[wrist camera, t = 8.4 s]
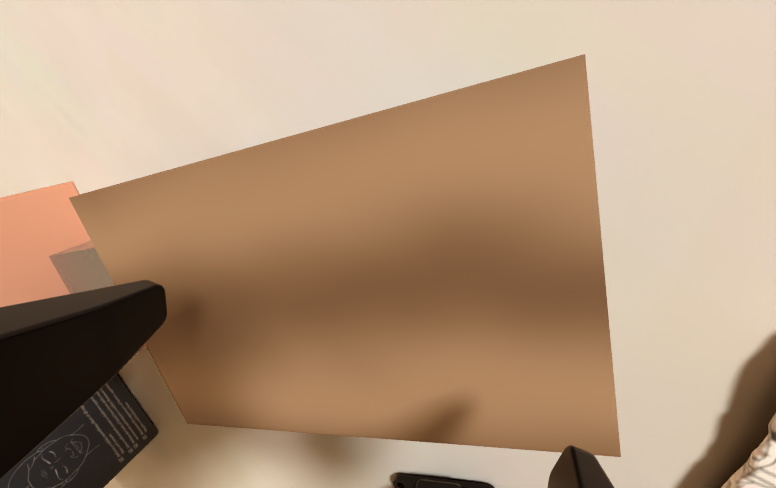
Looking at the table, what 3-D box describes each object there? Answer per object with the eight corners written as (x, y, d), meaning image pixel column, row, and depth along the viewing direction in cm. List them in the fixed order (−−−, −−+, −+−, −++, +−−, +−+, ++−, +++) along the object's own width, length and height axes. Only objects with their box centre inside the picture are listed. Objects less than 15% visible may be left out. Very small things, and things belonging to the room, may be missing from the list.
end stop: (154, 339, 29) (52, 411, 22) (127, 340, 30) (23, 409, 24) (72, 181, 25) (-77, 215, 19) (45, 189, 26) (-103, 224, 20)
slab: (602, 379, 13) (621, 457, 10) (234, 375, 19) (187, 423, 16) (570, 59, 10) (584, 54, 7) (143, 177, 16) (68, 197, 13)
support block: (243, 285, 24) (181, 331, 20) (163, 293, 26) (93, 335, 22) (212, 208, 22) (136, 239, 18) (130, 225, 25) (48, 256, 21)
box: (74, 367, 34) (-96, 476, 25) (110, 358, 32) (-63, 475, 22) (124, 436, 36) (-16, 561, 27) (161, 433, 33) (22, 569, 24)
